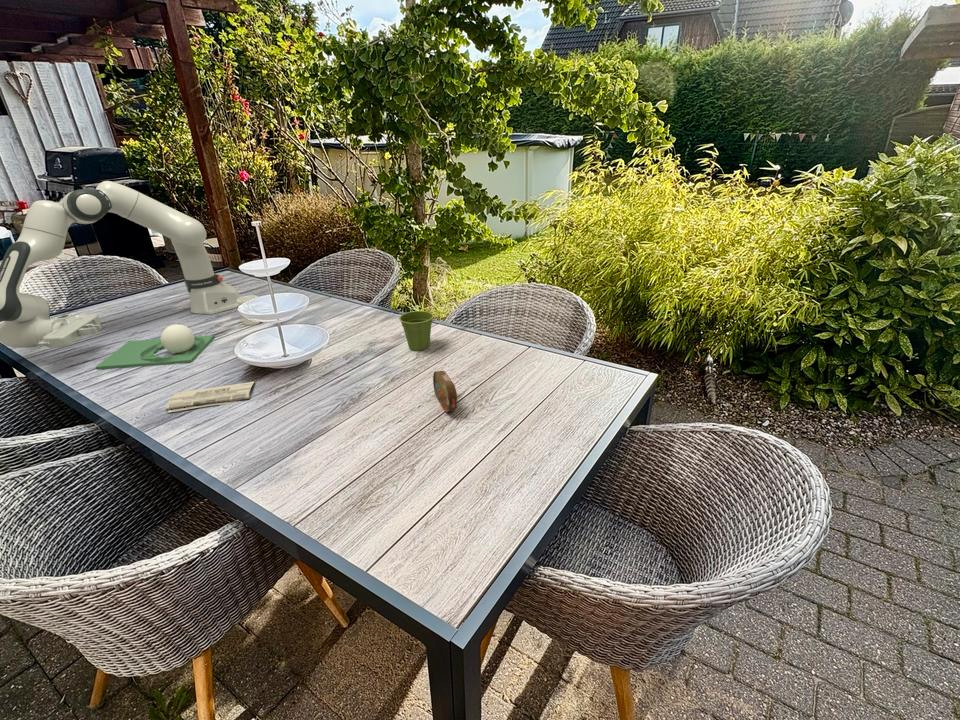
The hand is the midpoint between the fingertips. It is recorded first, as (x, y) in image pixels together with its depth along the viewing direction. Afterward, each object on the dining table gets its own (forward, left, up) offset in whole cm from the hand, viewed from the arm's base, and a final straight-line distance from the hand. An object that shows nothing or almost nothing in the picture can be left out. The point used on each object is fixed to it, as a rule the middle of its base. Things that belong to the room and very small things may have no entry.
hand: (98, 328), depth 164 cm
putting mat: (-14, +8, -10) cm, 19 cm away
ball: (-21, +12, -5) cm, 25 cm away
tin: (-78, +98, -11) cm, 126 cm away
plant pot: (-90, +60, -11) cm, 109 cm away
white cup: (-48, -2, -11) cm, 49 cm away
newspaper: (-25, +54, -11) cm, 61 cm away
